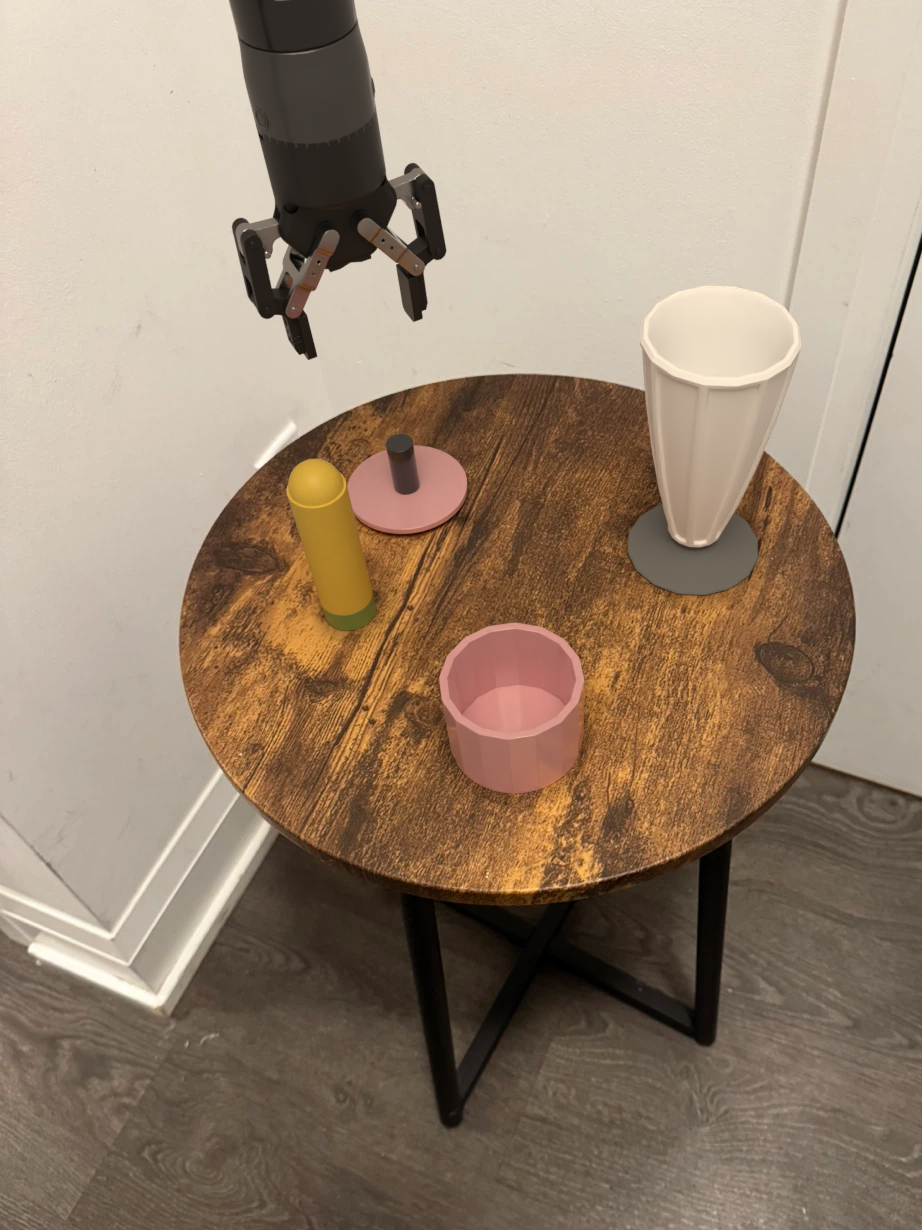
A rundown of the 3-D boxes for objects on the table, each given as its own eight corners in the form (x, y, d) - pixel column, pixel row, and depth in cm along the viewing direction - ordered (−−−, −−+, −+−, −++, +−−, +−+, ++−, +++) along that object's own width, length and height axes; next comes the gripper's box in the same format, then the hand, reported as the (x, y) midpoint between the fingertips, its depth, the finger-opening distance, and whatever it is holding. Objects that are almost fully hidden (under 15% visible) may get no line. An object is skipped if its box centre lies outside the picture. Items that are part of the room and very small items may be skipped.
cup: (785, 564, 89) (837, 348, 71) (672, 615, 86) (696, 404, 68) (710, 484, 95) (741, 265, 77) (602, 529, 92) (608, 313, 74)
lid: (351, 546, 92) (338, 494, 87) (345, 462, 98) (333, 409, 93) (475, 530, 92) (469, 477, 87) (461, 448, 99) (455, 394, 94)
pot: (458, 803, 77) (447, 748, 70) (443, 693, 82) (433, 633, 76) (593, 782, 77) (595, 726, 71) (570, 675, 83) (569, 614, 77)
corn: (325, 634, 86) (280, 490, 73) (323, 595, 89) (279, 449, 75) (378, 627, 86) (342, 482, 73) (374, 588, 89) (339, 441, 76)
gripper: (394, 52, 68) (426, 279, 81) (184, 112, 64) (254, 338, 78) (444, 100, 64) (468, 329, 77) (224, 167, 60) (290, 395, 74)
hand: (361, 334), depth 77 cm, fingers open, 8 cm apart
